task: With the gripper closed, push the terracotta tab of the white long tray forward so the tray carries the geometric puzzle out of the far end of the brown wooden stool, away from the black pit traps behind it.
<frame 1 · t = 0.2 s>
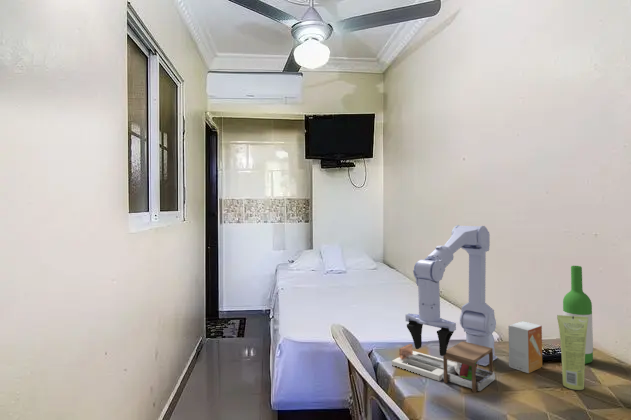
hand: (430, 351, 110), 10 cm above the table, tool pointing down, fingers open, 7 cm apart
brown wooden stool: (468, 380, 114), on the table
tube: (574, 387, 108), on the table
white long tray: (442, 364, 120), point 3 cm above the table, slide at 0.0 cm
small box: (525, 368, 122), on the table
geometric puzzle: (468, 381, 114), on the table
wine bottle: (578, 360, 126), on the table
pit board: (424, 366, 124), on the table
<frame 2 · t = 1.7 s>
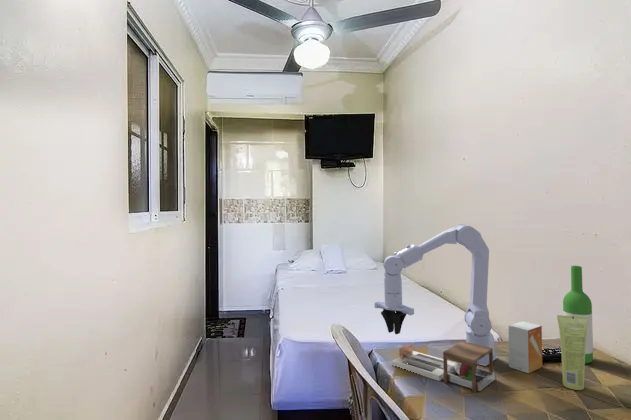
hand: (394, 332, 132), 8 cm above the table, tool pointing down, fingers closed
nothing on the table moved.
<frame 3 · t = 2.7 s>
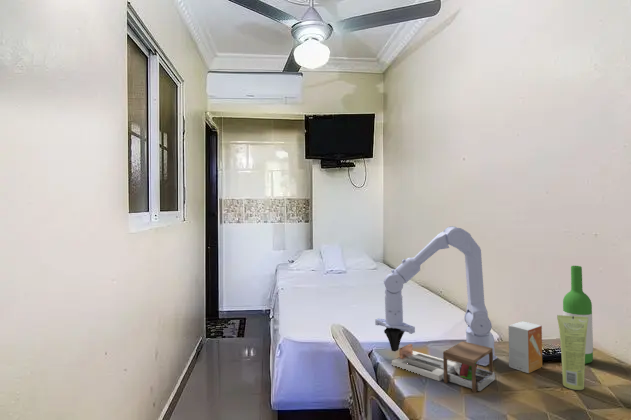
hand: (395, 350, 132), 2 cm above the table, tool pointing down, fingers closed
nothing on the table moved.
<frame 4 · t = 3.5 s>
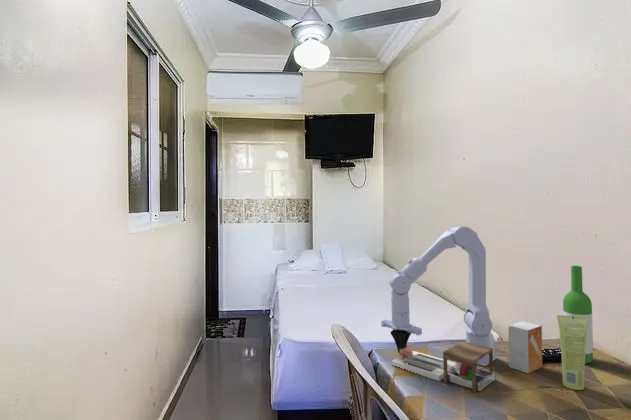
hand: (401, 352, 130), 2 cm above the table, tool pointing down, fingers closed
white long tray: (442, 364, 120), point 3 cm above the table, slide at 0.0 cm, touching gripper
everything else where it was.
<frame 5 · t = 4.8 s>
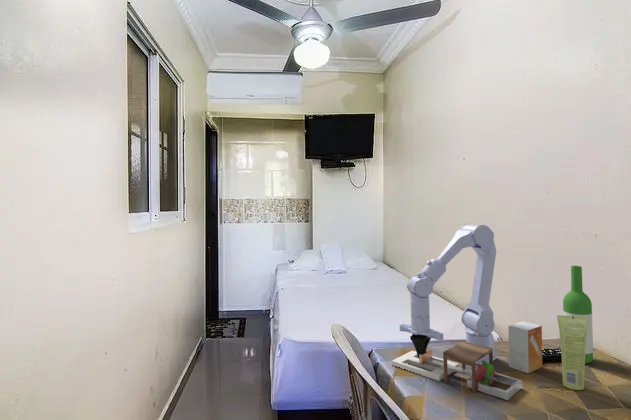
hand: (421, 358, 125), 2 cm above the table, tool pointing down, fingers closed
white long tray: (465, 370, 114), point 3 cm above the table, slide at 7.3 cm, touching gripper
geometric puzzle: (485, 387, 110), on the table
everything else where it was.
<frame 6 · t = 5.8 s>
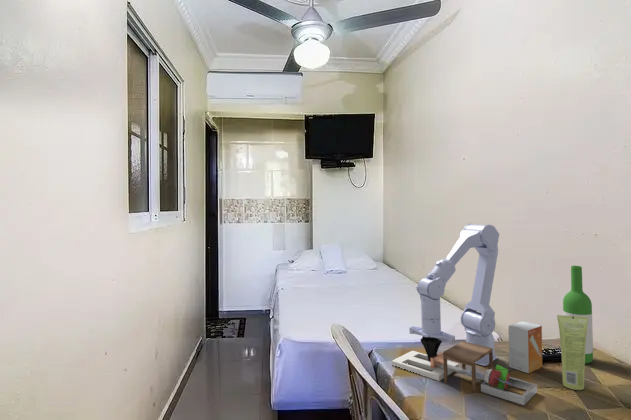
hand: (432, 361, 122), 2 cm above the table, tool pointing down, fingers closed
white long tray: (478, 374, 112), point 3 cm above the table, slide at 11.1 cm, touching gripper
geometric puzzle: (499, 391, 107), on the table
everything else where it was.
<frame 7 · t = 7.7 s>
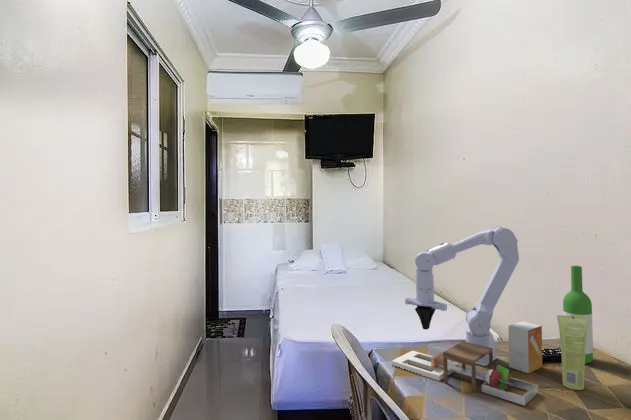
hand: (426, 328, 132), 9 cm above the table, tool pointing down, fingers closed
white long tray: (479, 374, 111), point 3 cm above the table, slide at 11.3 cm
everything else where it was.
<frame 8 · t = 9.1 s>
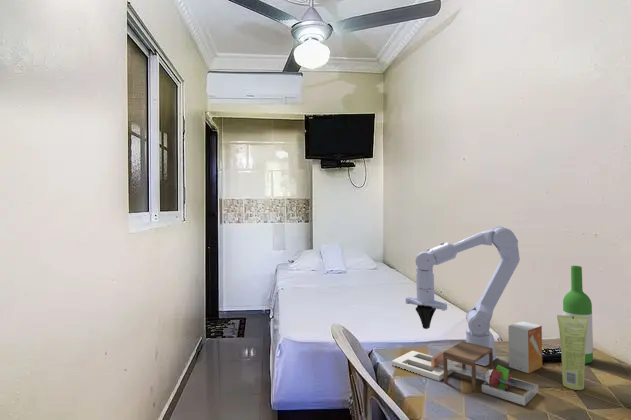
hand: (426, 328, 133), 9 cm above the table, tool pointing down, fingers closed
nothing on the table moved.
at the end: geometric puzzle inside the target area (3.4 cm from its centre), on the table; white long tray slide at 11.3 cm; geometric puzzle tilted 0° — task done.
